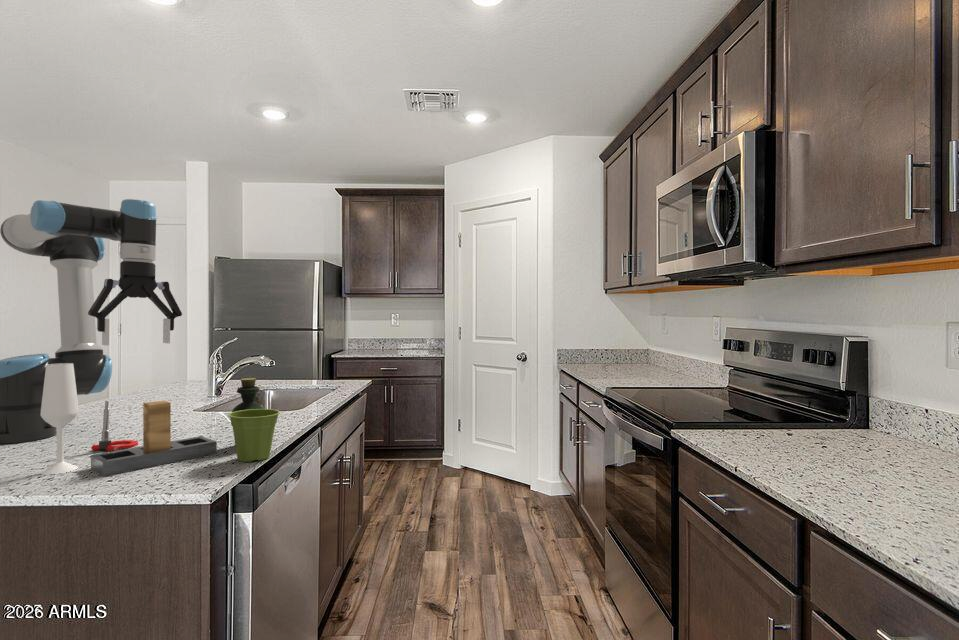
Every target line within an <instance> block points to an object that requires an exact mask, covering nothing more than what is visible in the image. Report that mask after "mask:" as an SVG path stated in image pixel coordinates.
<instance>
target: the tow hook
mask: <svg viewBox="0 0 959 640" xmlns="http://www.w3.org/2000/svg"><path fill="white" fill-rule="evenodd" d="M109 403H110V401H109V400H105V402H104V409H103V415H102V416H103V417H102V418H103V419H102V421H103V422H102V430H101V440H98V444H92V446H91V450H92V451H100V452H112V451H118V450H124V449H130V448H135V447H138V445H139V441H137V440H133V439H132V440H130V439H124V440H123V439H122V440H120V439H119V440H113V441H112V440H110V430H109V425H110V408H109Z"/></svg>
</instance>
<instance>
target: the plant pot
mask: <svg viewBox="0 0 959 640" xmlns="http://www.w3.org/2000/svg"><path fill="white" fill-rule="evenodd" d="M280 414H281V411H280V410H279V409H271V408H264V409H249V410H240V411H235V412H232V411H231V412H229V413H227V416H228V418H229V419H230V424H231V428H232V431H233V432H232V433H233V438H234V446H235V452H236V457H237V460H238V461H240V462H247V463H249V462H250V463H251V462H253V461H256V460H257V461H264V460H265V459H266V460H267V459H268V458H270V455H271V451H272V444H273V439H274V433H275V427H276V425H277V421H278V418H279V415H280Z"/></svg>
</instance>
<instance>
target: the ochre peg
mask: <svg viewBox="0 0 959 640" xmlns="http://www.w3.org/2000/svg"><path fill="white" fill-rule="evenodd" d="M171 406H172V405H171V402H170V401H166V400H159V401H157V400H156V401H149V402H147V401H146V402H143V403H142V414H143V415H142V419H143V420H142V429H143V430H142V432H143V433H142V436H143V437H142V438H143V441H142V446H143V450H144V451H146V452H153V451H159V450H164V449H170V448H171V440H172V439H171V437H172V435H171V434H172V433H171V429H172V428H171V427H172V426H171V425H172V424H171V423H172V422H171V413H172V412H171V410H172V409H171Z"/></svg>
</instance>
